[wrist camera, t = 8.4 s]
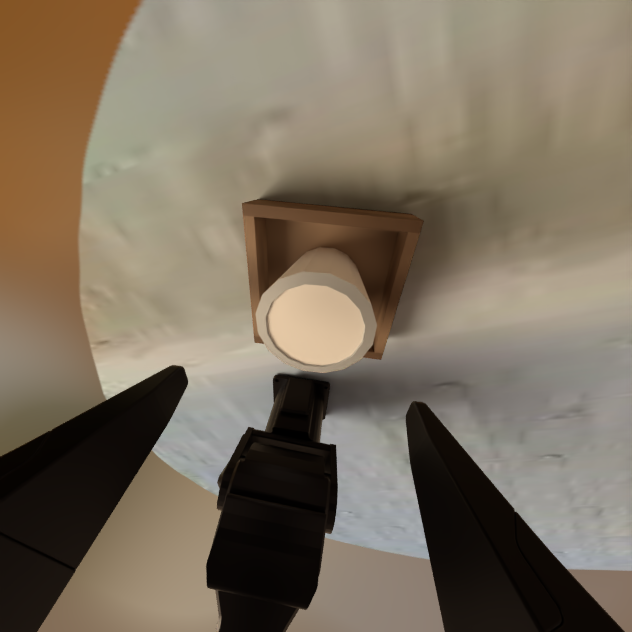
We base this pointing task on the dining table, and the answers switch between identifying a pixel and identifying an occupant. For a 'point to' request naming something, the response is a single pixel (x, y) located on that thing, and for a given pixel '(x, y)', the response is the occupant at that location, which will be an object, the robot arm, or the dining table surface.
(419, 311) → the dining table surface
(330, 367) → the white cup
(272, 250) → the walnut crate
